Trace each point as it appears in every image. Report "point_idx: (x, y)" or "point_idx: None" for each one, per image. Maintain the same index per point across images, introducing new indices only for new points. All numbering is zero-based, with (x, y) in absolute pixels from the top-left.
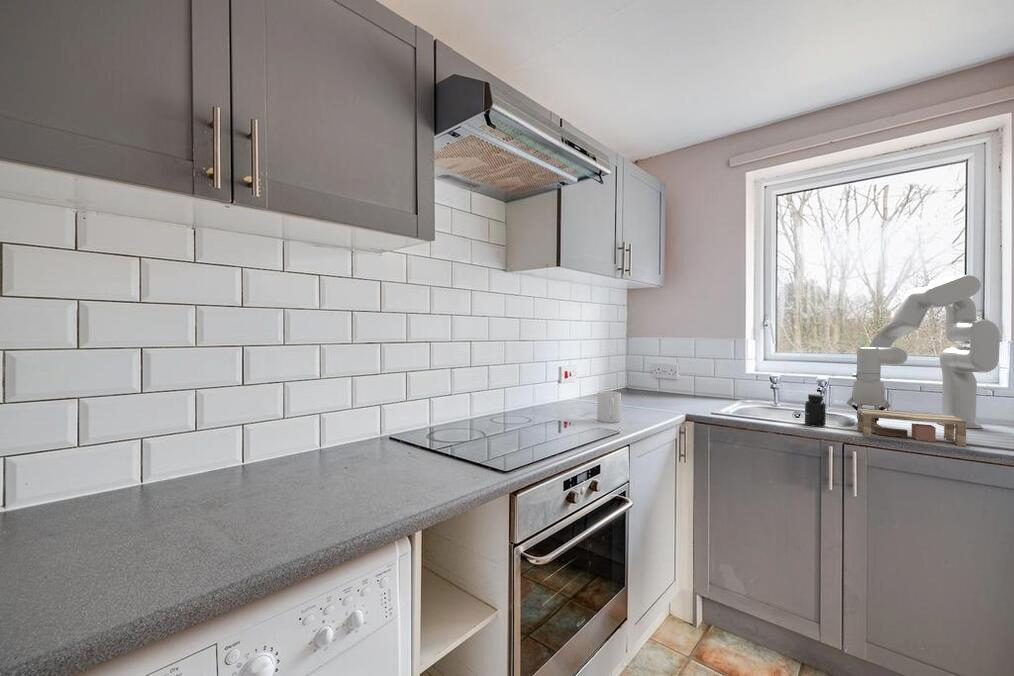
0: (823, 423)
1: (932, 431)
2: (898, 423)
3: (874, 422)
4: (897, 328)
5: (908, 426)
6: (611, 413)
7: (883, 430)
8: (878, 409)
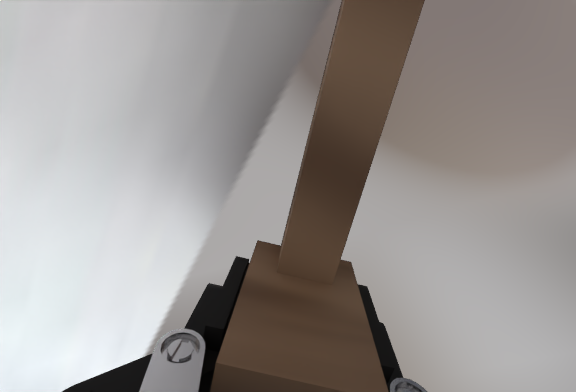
0: None
1: None
2: (48, 358)
3: (340, 73)
4: None
5: (4, 255)
6: None
7: None
8: (159, 381)
